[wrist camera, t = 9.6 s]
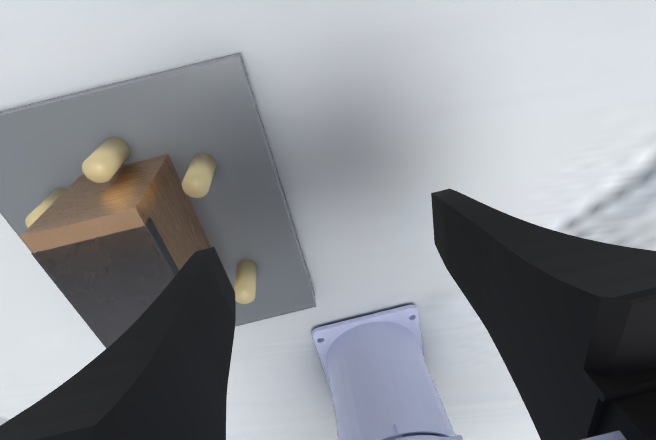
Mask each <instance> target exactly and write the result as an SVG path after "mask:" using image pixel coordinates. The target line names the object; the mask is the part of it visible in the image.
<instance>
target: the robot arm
mask: <svg viewBox="0 0 656 440" xmlns="http://www.w3.org/2000/svg"><path fill="white" fill-rule="evenodd" d="M431 195H432V210H433V225H434V240H435V245H436V247H437V250H438V252H439V254H440V256H441V258H442V260H443V262H444V264H445V266H446V268H447V270H448V271H449V273H450V274H451V276H452V277H453V279H454V280H455V282H456V283H457V285H458V286H459V288H460V289H461V291H462V292H463V294H464V295H465V297H466V298H467V300H468V301H469V303H470V304H471V306H472V307H473V309H474V310H475V312H476V313H477V315H478V316H479V317H480V319H481V321H482V322H483V324H484V325H485V327H486V329H487V330H488V332H489V334H490V336H491V338H492V340H493V342H494V343H495V345H496V347H497V349H498V351H499V353H500V355H501V357H502V359H503V361H504V363H505V365H506V367H507V369H508V371H509V373H510V375H511V377H512V379H513V381H514V383H515V385H516V387H517V389H518V391H519V393H520V395H521V397H522V399H523V401H524V404H525V406H526V408H527V410H528V412H529V414H530V416H531V418H532V421H533V423H534V425H535V427H536V429H537V432H538V434H539V436H540V438H541V440H656V251H651V250H644V249H637V248H630V247H624V246H618V245H612V244H607V243H602V242H597V241H593V240H588V239H583V238H579V237H575V236H571V235H567V234H564V233H560V232H557V231H553V230H550V229H547V228H543V227H540V226H537V225H534V224H531V223H529V222H526V221H523V220H521V219H518V218H515V217H513V216H510V215H508V214H505V213H503V212H501V211H498V210H496V209H494V208H491V207H489V206H487V205H485V204H483V203H480V202H478V201H476V200H474V199H472V198H470V197H468V196H465V195H463V194H461V193H459V192H457V191H454V190H452V189H447V190H443V191H439V192H435V193H431ZM411 315H413V316H411ZM235 321H236V302H235V291H234V289H233V287H232V285H231V282H230V280H229V278H228V276H227V274H226V271H225V269H224V267H223V265H222V263H221V261H220V258H219V256H218V254H217V252H216V250H215V248H214V247H211V248H207V249H203V250H199V251H196V252H195V253H194V254H193V255H192V256H191V257H190V258H189V259H188V261H187V262H186V263H185V264H184V266H183V267H182V268H181V269H180V271H179V272H178V273H177V274H176V276H175V277H174V278H173V279H172V280H171V282H170V283H169V284H168V285H167V287H166V288H165V289H164V290H163V291H162V293H161V294H160V295H159V296H158V297H157V298H156V299H155V301H154V302H153V303H152V304H151V305H150V306H149V307H148V308H147V309H146V311H145V312H144V313H143V314H142V315H141V316H140V317H139V318H138V319H137V320H136V321H135V322H134V323H133V324H132V325H131V326H130V327H129V328H128V329H127V330H126V331H125V332H124V333H123V334H122V335H121V336H120V337H119V338H118V339H117V340H116V341H115V342H114V343H113V344H111V345H110V346H109V347H108V348H107V349H106V350H105V351H103V352H102V353H101V354H100V355H99V356H97V357H96V358H95V359H94V360H93V361H91V362H90V363H89V364H88V365H86V366H85V367H84V368H83V369H82V370H80V371H79V372H78V373H77V374H75V375H74V376H73V377H71V378H70V379H69V380H67V381H66V382H65V383H63V384H62V385H61V386H59V387H58V388H57V389H55V390H54V391H52V392H51V393H49V394H48V395H47V396H45V397H44V398H42V399H41V400H39V401H38V402H37V403H35V404H34V405H32V406H31V407H29V408H28V409H26V410H24V411H23V412H21V413H20V414H18V415H17V416H15V417H13V418H12V419H10V420H9V421H7V422H6V423H4V424H3V425H1V426H0V440H226V395H227V384H228V376H229V368H230V361H231V353H232V346H233V338H234V330H235ZM312 337H313V340H314V343H315V346H316V349H317V352H318V355H319V358H320V360H321V363H322V366H323V369H324V372H325V375H326V378H327V381H328V384H329V387H330V390H331V393H332V399H333V406H334V413H335V419H336V426H337V433H338V439H339V440H463V439H462V436H461V435H456V436H455V433H454V431H453V428H452V426H451V424H450V421H449V419H448V416H447V414H446V411H445V409H444V407H443V404H442V402H441V399H440V397H439V394H438V392H437V389H436V387H435V385H434V382H433V380H432V377H431V375H430V372H429V370H428V368H427V365H426V363H425V360H424V358H423V349H422V340H421V331H420V322H419V313H418V309H417V307H416V306H415V305H407V306H403V307H399V308H395V309H391V310H386V311H382V312H378V313H374V314H370V315H366V316H362V317H358V318H354V319H350V320H346V321H342V322H338V323H334V324H330V325H325V326H321V327H317V328H315V329H314V330H313V331H312Z"/></svg>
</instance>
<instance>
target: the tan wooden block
mask: <svg viewBox="0 0 656 440" xmlns="http://www.w3.org/2000/svg"><path fill="white" fill-rule="evenodd" d="M20 238H21V239H22V241H23V242H24V243H25V244H26V246H27V247H28V248H29V249H30V251H31V252H32V253H31V254H32V255H33V256H34V258H35V259H36V260H37V261H38V263H39V264H40V265H41V266H42V268H43V269H44V270H45V272H46V273H47V274H48V275H49V277H50V278H51V279H52V280H53V282H54V283H55V284H56V285H57V287H58V288H59V289H60V290H61V292H62V293H63V294H64V295H65V297H66V298H67V299H68V301H69V302H70V303H71V304H72V306H73V307H74V308H75V309H76V311H77V312H78V313H79V314H80V316H81V317H82V318H83V319H84V321H85V322H86V323H87V325H88V326H89V327H90V328H91V330H92V331H93V332H94V333H95V335H96V336H97V337H98V338H99V340H100V341H101V342H102V343H103V345H104V346H105V347H106V348H108V347H109V346H110V345H111V344H113V343H114V342H115V341H116V340H117V339H118V338H119V337H120V336H121V335H122V334H123V333H124V332H125V331H126V330H127V329H128V328H129V327H130V326H131V325H132V324H133V323H134V322H135V321H136V320H137V319H138V318H139V317H140V316H141V315H142V314H143V313H144V312H145V311H146V309H147V308H148V307H149V306H150V305H151V304H152V303H153V302H154V301H155V299H156V298H157V297H158V296H159V295H160V294H161V293H162V291H163V290H164V289H165V288H166V287H167V285H168V284H169V283H170V282H171V280H172V279H173V278H174V277H175V276H176V274H177V273H178V272H179V271H180V269H181V268H182V267H183V266H184V264H185V263H186V262H187V261H188V259H189V258H190V257H191V256H192V255H193V254H194V253H195V252H196V251H199V250H203V249H207V248H211V245H210V243H209V241H208V239H207V237H206V234H205V232H204V230H203V228H202V226H201V224H200V222H199V219H198V217H197V215H196V213H195V211H194V209H193V206H192V204H191V202H190V200H189V198H188V196H187V194H186V193H185V192H184V191H183V189H182V183H181V181H180V178H179V176H178V174H177V172H176V170H175V168H174V166H173V163H172V161H171V159H170V157H169V155H168V154H166V155H162V156H158V157H154V158H149V159H145V160H141V161H137V162H133V163H129V164H125V165H121V167H120V168H119V169H118V170H117V172H116V173H115V174H114V175H113V176H112V178H111V179H110V180H109V181H107V182H104V183H97V182H94V181H92V180H90V179H88V178H87V177H86V176H85V174H84V175H80V176H79V177H78V178H77V179H76V180H75V181H74V182H73V183H72V184H71V185H70V186H69V187H68V188H67V189H66V190H65V191H64V192H63V193H62V195H61V196H60V197H59V198H58V199H57V200H56V201H55V202H54V203H53V204H52V205H51V206H50V207H49V208H48V209H47V210H46V211H45V212H44V213H43V214H42V215H41V216H40V217H39V218H38V219H37V220H36V221H35V222H34V223H33V224H32V225H31V226H30V227H29V228H28V229H27V230H26V231H25V232H24V233H23V234H22V235H21V236H20Z"/></svg>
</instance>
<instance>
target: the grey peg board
mask: <svg viewBox="0 0 656 440" xmlns="http://www.w3.org/2000/svg"><path fill="white" fill-rule="evenodd" d="M166 154H168V155H169V157H170V159H171V161H172V163H173V166H174V168H175V170H176V172H177V174H178V176H179V178H180V181H181V183H182V189H183V191H184V192H185V193H186V194H187V196H188V198H189V200H190V202H191V204H192V206H193V209H194V211H195V213H196V215H197V217H198V219H199V222H200V224H201V226H202V228H203V230H204V232H205V234H206V237H207V239H208V241H209V243H210V245H211V247H214V248H215V250H216V252H217V254H218V256H219V258H220V261H221V263H222V265H223V267H224V269H225V271H226V274H227V276H228V278H229V280H230V282H231V285H232V287H233V289H234V291H235V302H236V321H235V326H239V325H243V324H247V323H251V322H255V321H259V320H263V319H267V318H271V317H275V316H279V315H284V314H288V313H292V312H296V311H300V310H304V309H308V308H312V307H316V301H315V294H314V291H313V288H312V285H311V281H310V278H309V275H308V272H307V268H306V265H305V262H304V259H303V255H302V252H301V249H300V246H299V242H298V239H297V236H296V233H295V229H294V226H293V223H292V220H291V216H290V213H289V210H288V207H287V203H286V200H285V197H284V194H283V190H282V187H281V184H280V181H279V177H278V174H277V171H276V167H275V164H274V161H273V158H272V154H271V151H270V148H269V145H268V141H267V138H266V135H265V132H264V128H263V125H262V122H261V119H260V115H259V112H258V109H257V106H256V102H255V99H254V96H253V93H252V89H251V86H250V83H249V80H248V76H247V73H246V70H245V67H244V63H243V60H242V57H241V54H240V53H237V54H233V55H229V56H225V57H221V58H217V59H213V60H209V61H205V62H201V63H197V64H192V65H188V66H184V67H180V68H176V69H172V70H168V71H164V72H160V73H156V74H152V75H148V76H144V77H140V78H136V79H131V80H127V81H123V82H119V83H115V84H111V85H107V86H103V87H99V88H95V89H91V90H87V91H83V92H79V93H74V94H70V95H66V96H62V97H58V98H54V99H50V100H46V101H42V102H38V103H34V104H30V105H26V106H22V107H18V108H13V109H9V110H5V111H1V112H0V213H1V214H2V216H3V217H4V218H5V219H6V221H7V222H8V223H9V224H10V226H11V227H12V228H13V230H14V231H15V232H16V233H17V235H18V236H19V237H20V236H21V235H22V234H23V233H24V232H25V231H26V230H27V229H28V228H29V227H30V226H31V225H32V224H33V223H34V222H35V221H36V220H37V219H38V218H39V217H40V216H41V215H42V214H43V213H44V212H45V211H46V210H47V209H48V208H49V207H50V206H51V205H52V204H53V203H54V202H55V201H56V200H57V199H58V198H59V197H60V196H61V195H62V193H63V192H64V191H65V190H66V189H67V188H68V187H69V186H70V185H71V184H72V183H73V182H74V181H75V180H76V179H77V178H78V177H79V176H80V175H84V174H85V176H86V177H87V178H88V179H90V180H92V181H94V182H97V183H104V182H107V181H109V180H110V179H111V178H112V176H113V175H114V174H115V173H116V172H117V170H118V169H119V168H120V167H121V165H125V164H129V163H133V162H137V161H141V160H145V159H149V158H154V157H158V156H162V155H166ZM21 240H22V239H21ZM25 245H26V244H25ZM29 250H30V249H29Z"/></svg>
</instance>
